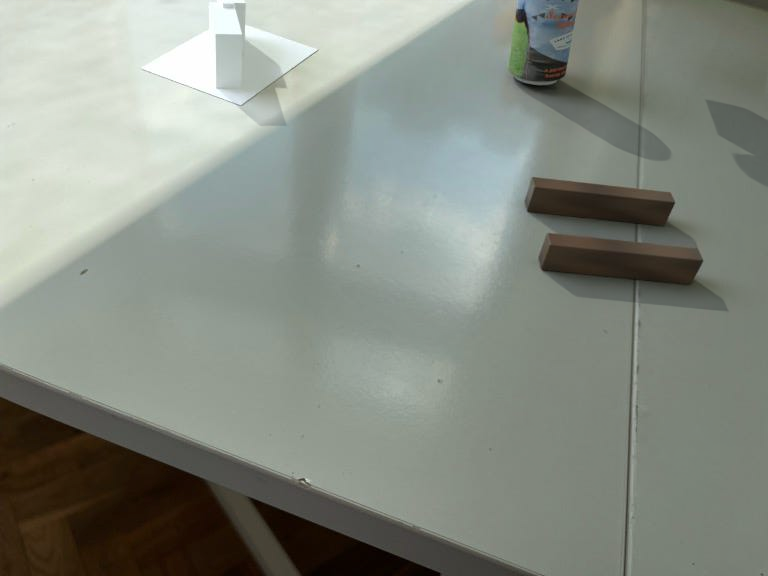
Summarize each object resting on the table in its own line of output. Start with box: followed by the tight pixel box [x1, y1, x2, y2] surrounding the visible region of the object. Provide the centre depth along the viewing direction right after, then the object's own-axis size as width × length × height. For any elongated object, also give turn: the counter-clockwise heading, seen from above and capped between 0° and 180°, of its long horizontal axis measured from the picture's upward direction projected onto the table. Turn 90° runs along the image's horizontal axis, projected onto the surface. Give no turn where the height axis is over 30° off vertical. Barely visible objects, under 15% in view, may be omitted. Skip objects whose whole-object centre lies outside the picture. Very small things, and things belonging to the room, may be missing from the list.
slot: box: [524, 176, 704, 285], centre depth 63 cm, size 12×9×2 cm
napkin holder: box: [140, 0, 319, 106], centre depth 76 cm, size 15×11×6 cm
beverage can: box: [507, 0, 580, 86], centre depth 80 cm, size 6×7×12 cm
